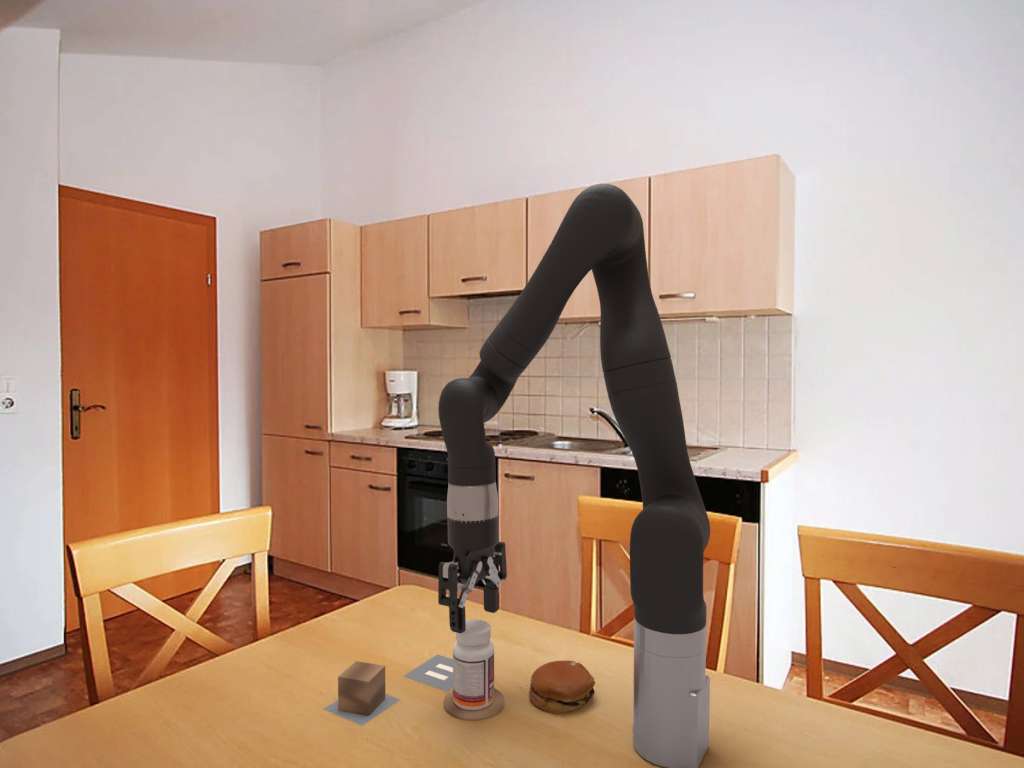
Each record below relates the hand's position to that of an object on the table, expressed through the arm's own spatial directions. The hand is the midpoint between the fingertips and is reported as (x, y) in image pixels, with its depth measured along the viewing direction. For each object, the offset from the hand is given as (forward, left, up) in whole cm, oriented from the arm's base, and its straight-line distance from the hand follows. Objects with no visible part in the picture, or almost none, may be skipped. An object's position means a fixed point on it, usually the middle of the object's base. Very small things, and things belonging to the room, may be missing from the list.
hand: (475, 621), depth 94 cm
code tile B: (+14, +9, -13) cm, 21 cm away
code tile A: (+10, -5, -13) cm, 17 cm away
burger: (-10, -9, -13) cm, 19 cm away
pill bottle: (0, 0, -12) cm, 12 cm away
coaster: (0, 0, -13) cm, 13 cm away
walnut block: (+14, +9, -13) cm, 21 cm away
